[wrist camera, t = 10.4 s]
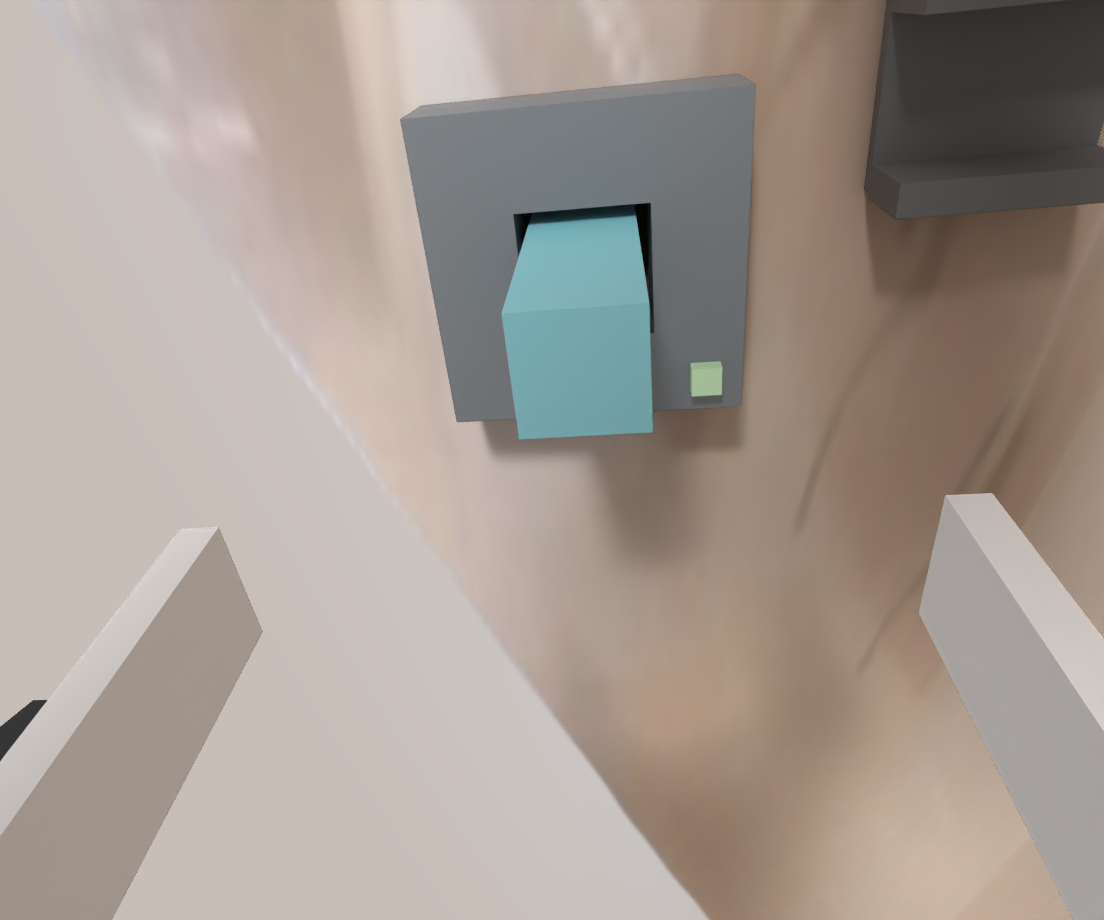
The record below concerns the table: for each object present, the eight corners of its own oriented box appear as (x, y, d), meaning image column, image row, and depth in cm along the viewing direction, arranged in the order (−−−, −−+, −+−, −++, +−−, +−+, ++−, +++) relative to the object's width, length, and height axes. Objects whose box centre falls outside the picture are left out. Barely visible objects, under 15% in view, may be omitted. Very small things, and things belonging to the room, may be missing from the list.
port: (420, 105, 29) (396, 122, 25) (739, 73, 27) (758, 86, 24) (469, 385, 35) (454, 429, 32) (729, 369, 34) (743, 413, 30)
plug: (534, 204, 30) (501, 313, 20) (632, 195, 30) (649, 302, 20) (544, 298, 32) (518, 439, 22) (636, 291, 32) (652, 432, 22)
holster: (890, -29, 26) (932, -32, 22) (1140, -57, 25) (1221, -64, 22) (863, 193, 29) (895, 219, 26) (1078, 176, 29) (1139, 199, 25)
